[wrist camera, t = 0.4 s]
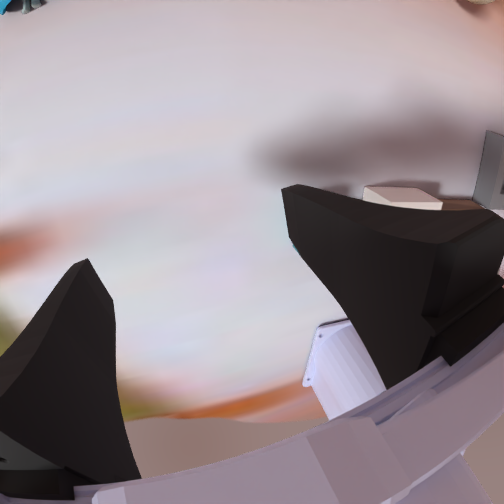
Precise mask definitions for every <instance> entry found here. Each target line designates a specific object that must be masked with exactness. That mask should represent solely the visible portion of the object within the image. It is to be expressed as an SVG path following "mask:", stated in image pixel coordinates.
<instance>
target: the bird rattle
mask: <svg viewBox="0 0 504 504" xmlns="http://www.w3.org/2000/svg"><path fill="white" fill-rule="evenodd" d="M467 1H469V2H471V3H475V4H488V3H491V2H493V1H495V0H467Z"/></svg>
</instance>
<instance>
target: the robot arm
mask: <svg viewBox="0 0 504 504" xmlns="http://www.w3.org/2000/svg"><path fill="white" fill-rule="evenodd" d="M281 191H282V197H283V203H284V209H285V215H286V221H287V227H288V234H289V238H290V239H291V241H292V243H293V244H294V246H295V248H296V249H297V251H298V253H299V254H300V256H301V257H302V259H303V260H304V261H305V262H306V263H307V265H308V266H309V267H310V268H311V270H312V271H313V272H314V273H315V274H316V276H317V277H318V278H319V279H320V280H321V282H322V283H323V284H324V285H325V286H326V288H327V289H328V290H329V291H330V293H331V294H332V295H333V296H334V298H335V299H336V300H337V302H338V303H339V304H340V306H341V307H342V309H343V310H344V312H345V314H346V315H347V317H348V318H349V320H346V321H342V322H337V323H333V324H328V325H324V326H320V327H318V328H317V330H316V333H315V337H314V341H313V345H312V349H311V353H310V357H309V360H308V364H307V368H306V371H305V375H304V379H303V382H302V385H303V386H304V387H307V386H312V388H313V390H314V392H315V394H316V396H317V397H318V399H319V401H320V403H321V405H322V407H323V409H324V411H325V413H326V415H327V417H328V419H329V421H327V422H325V423H323V424H320V425H318V426H316V427H314V428H311V429H309V430H307V431H304V432H301V433H299V434H296V435H294V436H292V437H289V438H287V439H284V440H281V441H279V442H277V443H274V444H271V445H268V446H266V447H263V448H260V449H257V450H254V451H251V452H248V453H245V454H242V455H239V456H236V457H233V458H229V459H226V460H223V461H219V462H216V463H212V464H208V465H204V466H201V467H197V468H193V469H188V470H184V471H180V472H176V473H171V474H166V475H160V476H155V477H150V478H144V479H142V478H141V475H140V473H139V470H138V467H137V465H136V462H135V459H134V457H133V453H132V451H131V447H130V444H129V440H128V437H127V434H126V430H125V426H124V421H123V417H122V413H121V408H120V402H119V397H118V391H117V382H116V321H115V312H114V304H113V299H112V298H111V296H110V295H109V293H108V291H107V290H106V288H105V286H104V285H103V283H102V282H101V280H100V278H99V277H98V275H97V273H96V271H95V270H94V268H93V266H92V265H91V263H90V261H89V259H88V258H87V259H85V260H82V261H80V262H78V263H75V264H73V265H72V266H71V267H70V268H69V270H68V271H67V272H66V273H65V274H64V276H63V277H62V278H61V280H60V281H59V282H58V284H57V285H56V286H55V288H54V289H53V291H52V292H51V293H50V295H49V296H48V298H47V299H46V301H45V302H44V303H43V305H42V306H41V307H40V309H39V310H38V311H37V313H36V314H35V316H34V317H33V318H32V320H31V321H30V322H29V324H28V325H27V326H26V328H25V329H24V330H23V332H22V333H21V334H20V335H19V336H18V338H17V339H16V340H15V341H14V342H13V344H12V345H11V346H10V347H9V348H8V349H7V350H6V351H5V352H4V354H3V355H2V356H1V357H0V504H493V502H492V501H491V499H490V498H489V496H488V495H487V493H486V491H485V490H484V488H483V487H482V485H481V483H480V482H479V481H478V479H477V477H476V476H475V474H474V473H473V471H472V470H471V468H470V467H469V465H468V464H467V462H466V461H465V459H464V458H463V455H464V453H465V450H466V448H467V447H468V446H469V445H470V444H471V443H472V442H473V441H475V440H476V439H477V438H478V437H479V436H480V435H481V434H482V433H483V432H484V431H485V430H487V429H488V428H489V427H490V426H491V425H492V424H493V423H494V422H495V421H496V420H497V419H498V418H499V417H500V416H501V415H502V414H503V413H504V288H503V287H502V286H503V285H504V279H503V278H502V277H501V276H500V275H498V271H499V268H500V265H501V262H502V259H503V256H504V219H503V218H502V217H500V216H499V215H497V214H496V213H494V212H493V211H491V210H489V209H471V210H427V209H415V208H404V207H396V206H390V205H384V204H378V203H373V202H368V201H364V200H359V199H355V198H351V197H347V196H343V195H340V194H336V193H332V192H329V191H325V190H321V189H318V188H314V187H310V186H305V185H299V184H296V185H293V186H290V187H286V188H283V189H281Z"/></svg>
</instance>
